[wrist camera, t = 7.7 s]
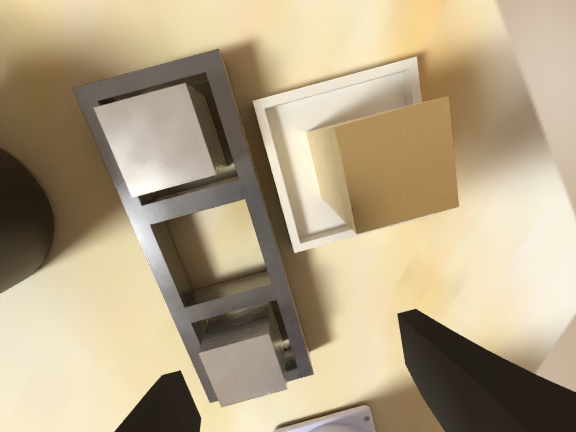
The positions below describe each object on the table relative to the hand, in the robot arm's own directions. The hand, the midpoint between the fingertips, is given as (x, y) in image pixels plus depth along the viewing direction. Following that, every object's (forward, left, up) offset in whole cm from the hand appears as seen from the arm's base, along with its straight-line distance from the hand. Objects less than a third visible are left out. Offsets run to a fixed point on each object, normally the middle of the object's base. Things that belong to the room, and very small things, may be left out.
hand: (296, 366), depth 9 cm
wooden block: (+5, -5, -9) cm, 12 cm away
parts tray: (+5, -5, -10) cm, 12 cm away
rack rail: (+2, +4, -10) cm, 11 cm away
